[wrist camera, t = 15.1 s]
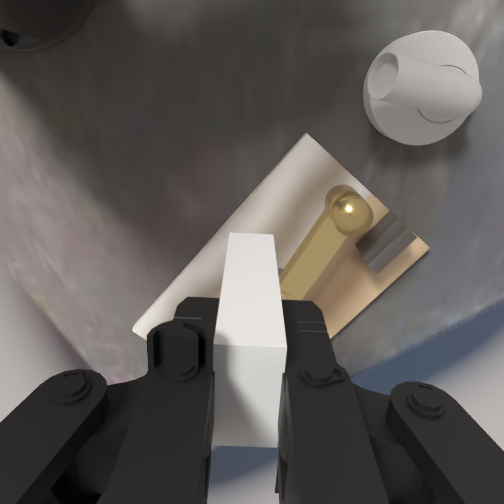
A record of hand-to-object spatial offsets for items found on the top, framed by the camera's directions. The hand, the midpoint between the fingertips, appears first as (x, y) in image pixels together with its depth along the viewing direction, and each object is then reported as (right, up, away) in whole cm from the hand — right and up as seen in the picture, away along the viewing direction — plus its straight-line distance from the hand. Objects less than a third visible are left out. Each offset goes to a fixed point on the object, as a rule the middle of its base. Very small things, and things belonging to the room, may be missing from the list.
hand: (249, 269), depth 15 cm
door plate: (+2, -3, +29) cm, 29 cm away
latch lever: (+5, 0, +25) cm, 25 cm away
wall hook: (+13, +15, +22) cm, 29 cm away
